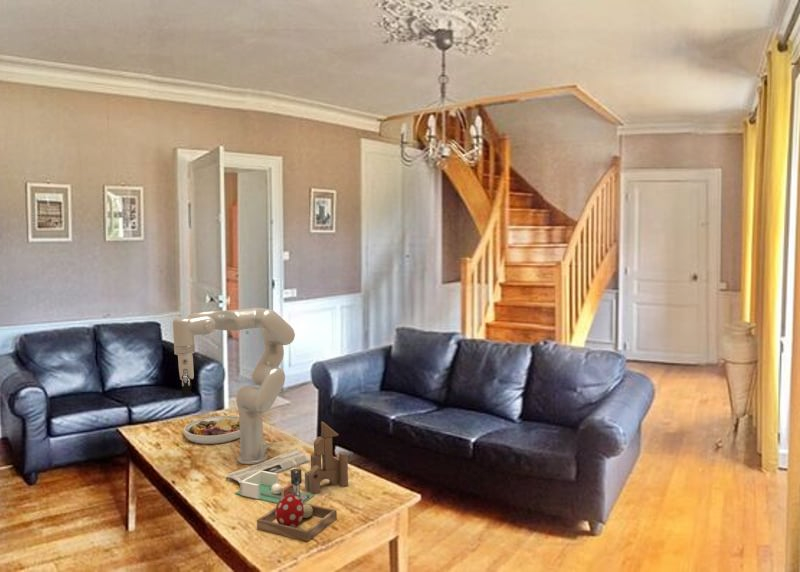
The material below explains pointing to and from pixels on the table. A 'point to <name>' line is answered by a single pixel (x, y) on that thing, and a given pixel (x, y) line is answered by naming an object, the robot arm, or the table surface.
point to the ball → (276, 489)
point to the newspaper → (272, 465)
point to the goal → (257, 483)
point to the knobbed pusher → (294, 485)
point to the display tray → (297, 533)
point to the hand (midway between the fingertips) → (187, 392)
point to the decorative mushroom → (292, 511)
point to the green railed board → (266, 489)
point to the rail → (277, 495)
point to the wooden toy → (326, 463)
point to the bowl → (213, 430)
